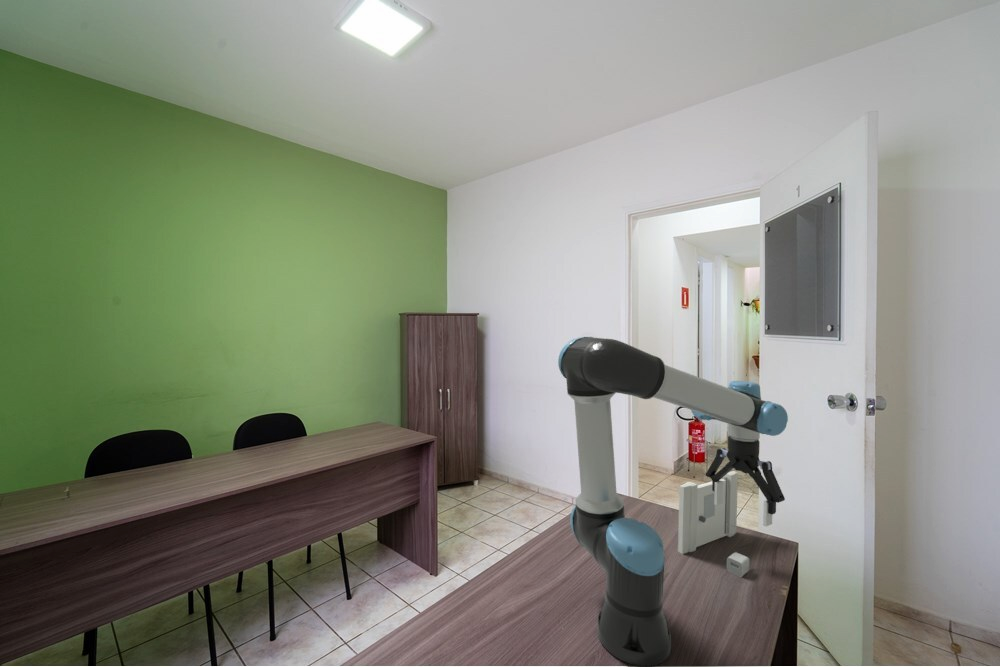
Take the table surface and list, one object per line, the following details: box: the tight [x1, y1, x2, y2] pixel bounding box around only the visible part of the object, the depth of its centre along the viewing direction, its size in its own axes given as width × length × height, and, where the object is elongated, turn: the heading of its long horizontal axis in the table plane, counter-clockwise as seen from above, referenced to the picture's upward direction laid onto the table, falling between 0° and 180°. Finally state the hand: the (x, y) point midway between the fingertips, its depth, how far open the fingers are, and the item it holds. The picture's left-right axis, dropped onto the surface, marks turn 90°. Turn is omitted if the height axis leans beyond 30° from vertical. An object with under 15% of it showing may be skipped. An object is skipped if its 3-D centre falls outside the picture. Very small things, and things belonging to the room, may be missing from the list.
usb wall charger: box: [726, 551, 750, 578], centre depth 112 cm, size 4×7×4 cm, turn 127°
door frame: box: [677, 470, 739, 555], centre depth 125 cm, size 26×2×20 cm, turn 118°
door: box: [696, 478, 726, 548], centre depth 125 cm, size 14×3×18 cm, turn 118°
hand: (741, 513), depth 111 cm, fingers open, 13 cm apart
